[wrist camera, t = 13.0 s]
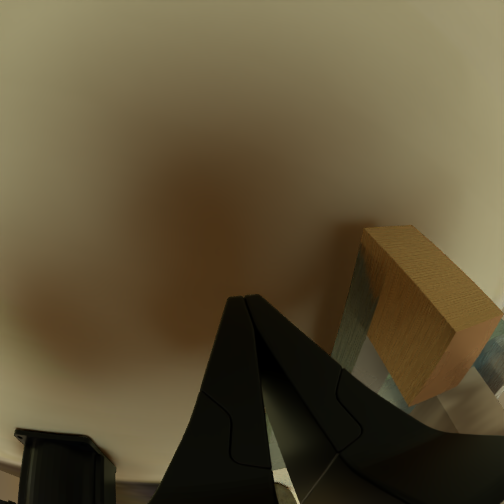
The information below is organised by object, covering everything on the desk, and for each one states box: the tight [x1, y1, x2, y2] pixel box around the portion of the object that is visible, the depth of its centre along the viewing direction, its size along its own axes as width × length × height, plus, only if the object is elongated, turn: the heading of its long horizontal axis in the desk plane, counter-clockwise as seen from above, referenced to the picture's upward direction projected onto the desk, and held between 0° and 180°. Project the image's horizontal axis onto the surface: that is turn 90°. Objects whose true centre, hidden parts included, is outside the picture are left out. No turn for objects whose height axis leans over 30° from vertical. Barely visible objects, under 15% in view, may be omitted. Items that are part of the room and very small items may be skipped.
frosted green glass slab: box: [265, 319, 504, 470], centre depth 19 cm, size 20×11×4 cm, turn 88°
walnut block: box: [409, 367, 504, 435], centre depth 15 cm, size 5×5×13 cm
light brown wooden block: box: [331, 225, 504, 407], centre depth 13 cm, size 2×20×5 cm, turn 178°
